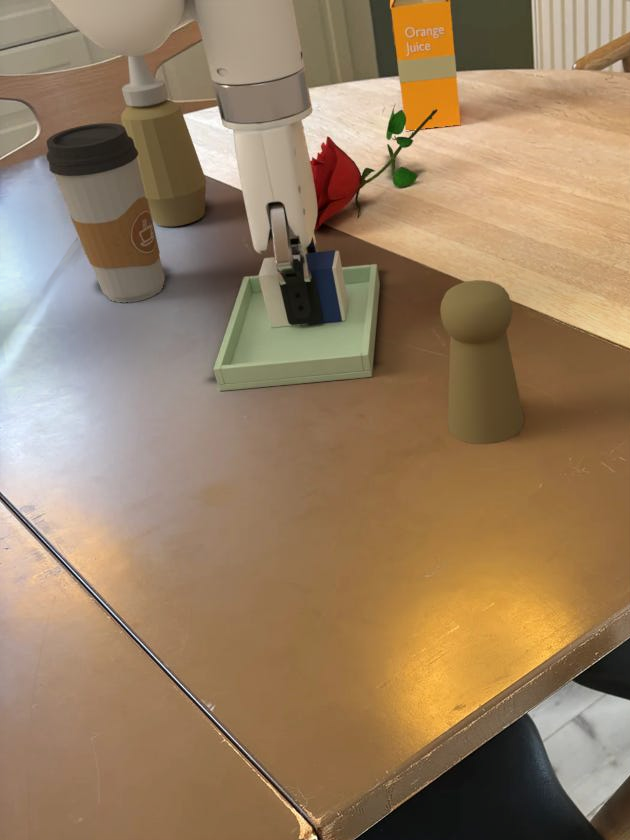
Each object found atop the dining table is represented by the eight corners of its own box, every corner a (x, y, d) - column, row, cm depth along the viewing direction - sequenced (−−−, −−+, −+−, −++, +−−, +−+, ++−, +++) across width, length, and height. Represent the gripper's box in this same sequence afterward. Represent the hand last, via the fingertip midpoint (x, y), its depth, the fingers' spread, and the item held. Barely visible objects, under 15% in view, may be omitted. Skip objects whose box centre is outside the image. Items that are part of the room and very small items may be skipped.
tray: (219, 391, 87) (213, 369, 86) (248, 297, 101) (243, 276, 100) (372, 377, 87) (368, 354, 85) (379, 284, 101) (376, 263, 99)
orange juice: (458, 107, 144) (444, -62, 131) (461, 125, 138) (446, -51, 124) (404, 113, 144) (383, -55, 131) (404, 131, 138) (383, -44, 124)
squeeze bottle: (194, 201, 124) (150, 33, 112) (226, 216, 119) (184, 43, 107) (134, 221, 120) (81, 50, 108) (164, 237, 115) (113, 60, 103)
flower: (407, 51, 123) (276, 153, 106) (473, 92, 124) (354, 201, 106) (389, 119, 131) (263, 225, 113) (451, 158, 131) (336, 270, 113)
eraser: (270, 328, 94) (257, 275, 91) (276, 309, 97) (263, 257, 94) (345, 321, 94) (335, 267, 90) (348, 302, 97) (338, 249, 93)
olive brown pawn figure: (459, 451, 77) (444, 313, 69) (439, 413, 81) (423, 279, 74) (534, 433, 78) (527, 295, 70) (511, 397, 82) (502, 264, 75)
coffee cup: (147, 310, 101) (97, 151, 91) (78, 305, 103) (21, 149, 93) (191, 276, 106) (148, 122, 96) (124, 271, 109) (75, 120, 99)
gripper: (233, 75, 89) (279, 278, 101) (200, 133, 77) (257, 356, 89) (318, 66, 89) (354, 271, 101) (298, 123, 76) (342, 348, 89)
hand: (308, 308), depth 95 cm, fingers closed on eraser, 4 cm apart
